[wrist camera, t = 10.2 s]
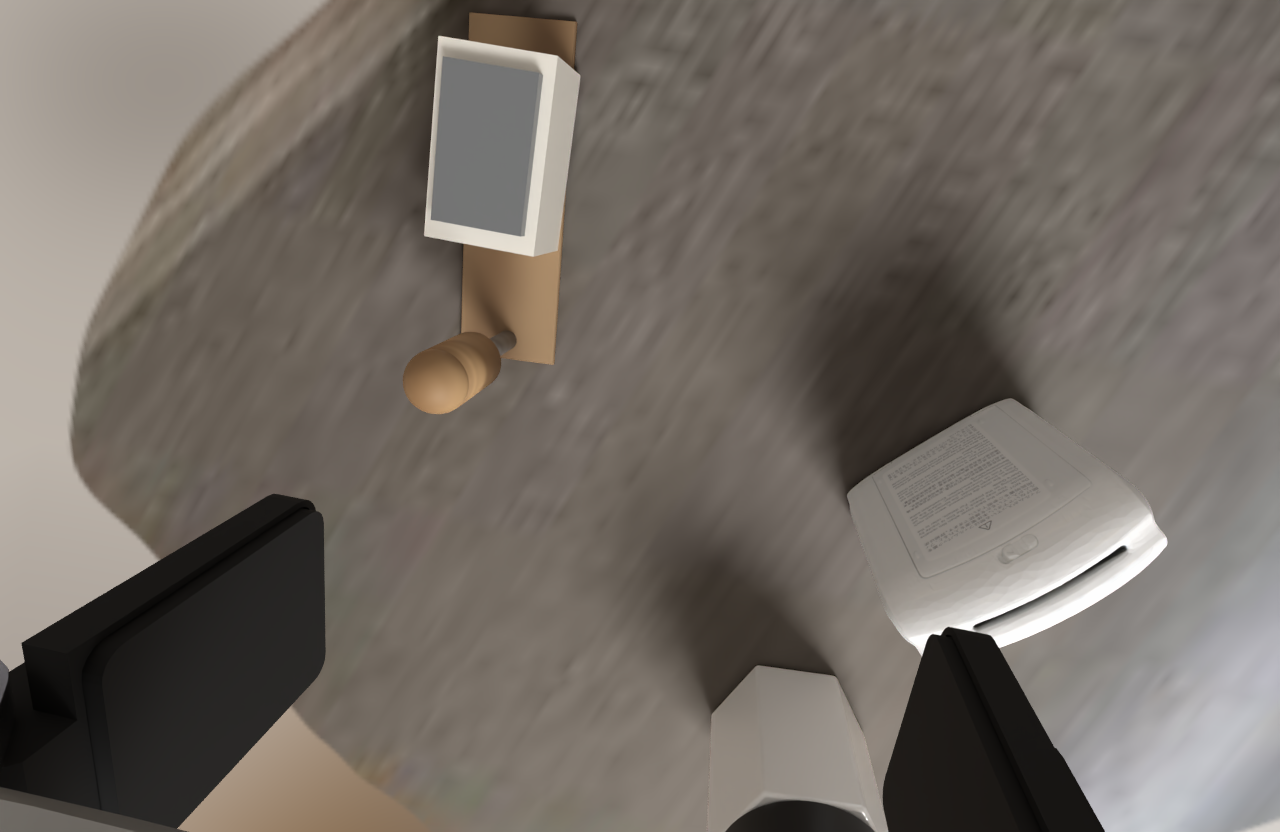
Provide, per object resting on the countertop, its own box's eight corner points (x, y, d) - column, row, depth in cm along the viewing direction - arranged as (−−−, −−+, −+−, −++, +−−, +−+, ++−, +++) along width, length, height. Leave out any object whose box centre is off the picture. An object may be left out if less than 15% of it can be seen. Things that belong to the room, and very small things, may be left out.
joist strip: (577, 23, 31) (575, 21, 31) (554, 363, 36) (552, 364, 36) (471, 14, 32) (469, 12, 32) (462, 351, 37) (460, 352, 36)
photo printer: (874, 552, 37) (941, 712, 25) (830, 491, 36) (877, 627, 25) (1057, 449, 34) (1226, 576, 23) (1012, 381, 34) (1162, 475, 22)
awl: (533, 318, 35) (457, 360, 26) (530, 367, 36) (455, 426, 26) (484, 312, 36) (390, 351, 26) (482, 360, 36) (391, 417, 27)
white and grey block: (580, 75, 32) (554, 52, 27) (557, 250, 34) (529, 257, 30) (476, 57, 32) (432, 32, 27) (461, 232, 35) (418, 236, 30)
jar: (795, 805, 43) (819, 1023, 31) (687, 734, 42) (671, 930, 31) (892, 712, 40) (956, 915, 28) (778, 635, 39) (797, 810, 28)
